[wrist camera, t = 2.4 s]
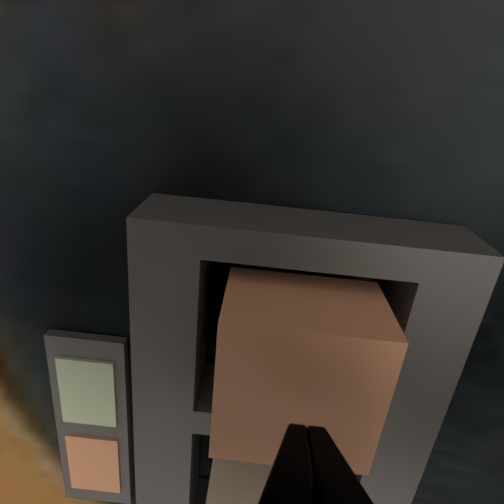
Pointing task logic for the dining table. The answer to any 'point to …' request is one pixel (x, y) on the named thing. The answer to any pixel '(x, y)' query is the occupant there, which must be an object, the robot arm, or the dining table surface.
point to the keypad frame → (305, 259)
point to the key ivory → (236, 482)
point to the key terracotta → (302, 364)
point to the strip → (92, 413)
